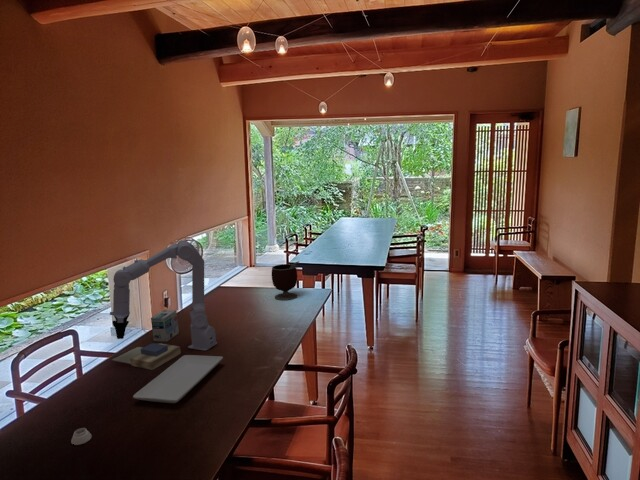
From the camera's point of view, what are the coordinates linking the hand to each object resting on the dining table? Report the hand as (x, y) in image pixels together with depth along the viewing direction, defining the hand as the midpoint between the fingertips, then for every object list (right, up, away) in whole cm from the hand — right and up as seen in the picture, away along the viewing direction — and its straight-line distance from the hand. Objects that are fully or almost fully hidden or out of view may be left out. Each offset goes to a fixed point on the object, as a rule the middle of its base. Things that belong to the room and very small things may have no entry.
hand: (120, 335), depth 176 cm
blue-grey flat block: (+13, -7, +1) cm, 15 cm away
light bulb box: (+10, -6, +24) cm, 27 cm away
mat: (+3, -10, +6) cm, 12 cm away
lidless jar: (+11, -19, -49) cm, 54 cm away
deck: (+13, -10, +1) cm, 17 cm away
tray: (+30, -13, -19) cm, 37 cm away
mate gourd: (+59, +5, +72) cm, 94 cm away
